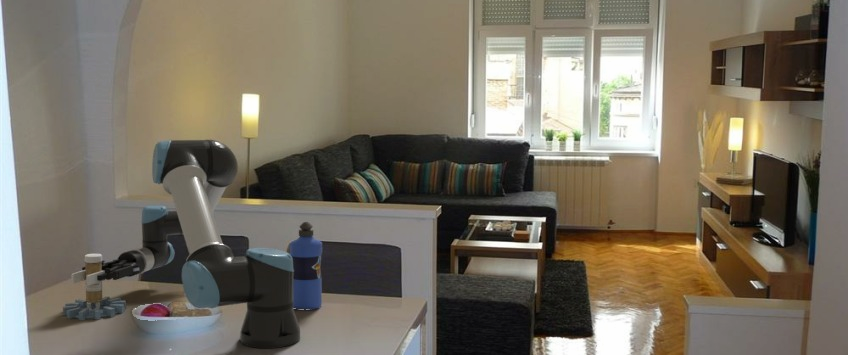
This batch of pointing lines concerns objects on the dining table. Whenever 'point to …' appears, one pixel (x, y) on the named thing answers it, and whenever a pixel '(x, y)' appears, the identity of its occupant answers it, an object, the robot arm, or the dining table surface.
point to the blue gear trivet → (94, 309)
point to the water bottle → (306, 269)
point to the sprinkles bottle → (92, 267)
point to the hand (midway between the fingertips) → (80, 279)
